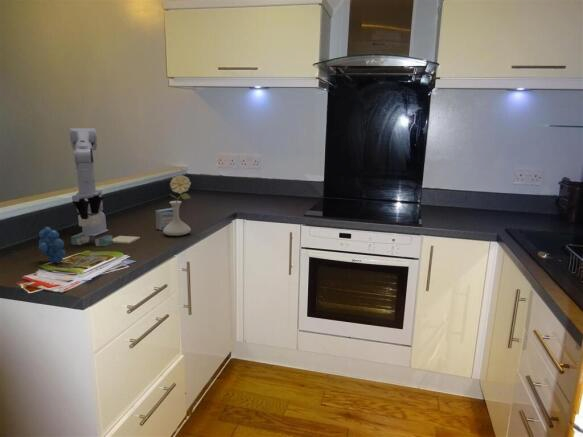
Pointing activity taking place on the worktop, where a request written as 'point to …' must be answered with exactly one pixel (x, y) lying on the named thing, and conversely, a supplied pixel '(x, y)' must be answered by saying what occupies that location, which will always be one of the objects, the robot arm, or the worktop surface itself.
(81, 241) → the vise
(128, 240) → the mat
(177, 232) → the flower in vase
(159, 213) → the medicine box
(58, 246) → the grapes
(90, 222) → the grey hollow block
